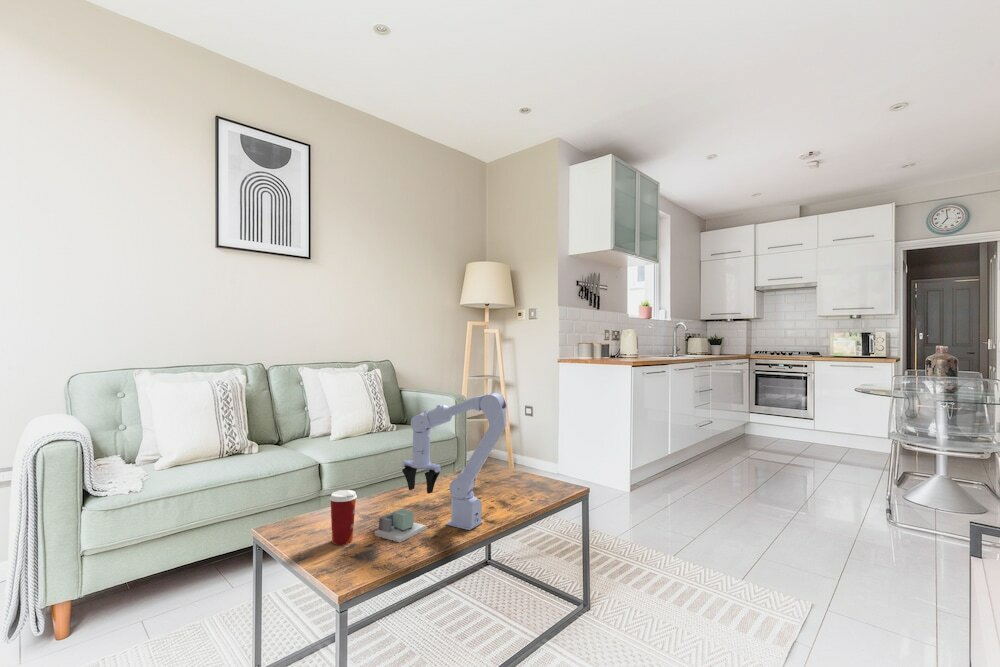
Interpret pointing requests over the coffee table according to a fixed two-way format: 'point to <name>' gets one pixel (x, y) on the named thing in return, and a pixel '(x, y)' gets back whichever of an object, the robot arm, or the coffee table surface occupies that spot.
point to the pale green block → (403, 519)
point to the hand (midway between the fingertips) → (420, 491)
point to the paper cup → (342, 516)
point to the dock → (396, 534)
